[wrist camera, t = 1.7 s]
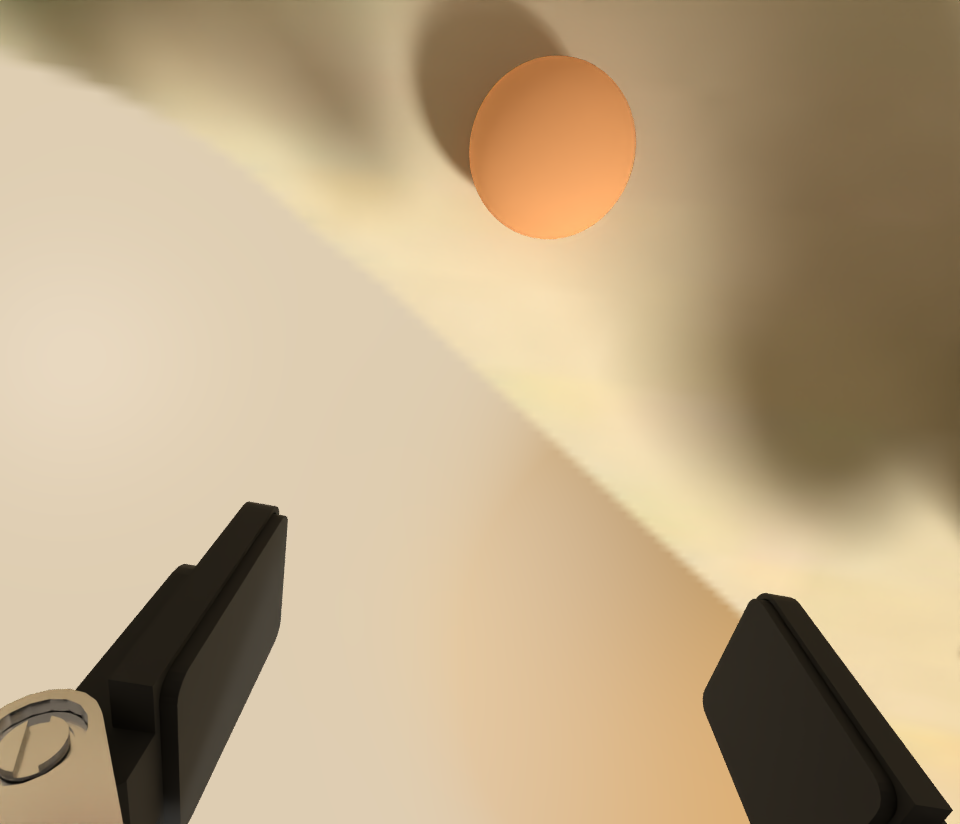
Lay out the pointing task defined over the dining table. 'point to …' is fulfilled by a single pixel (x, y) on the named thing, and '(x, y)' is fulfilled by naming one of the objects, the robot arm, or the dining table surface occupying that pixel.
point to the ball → (552, 147)
